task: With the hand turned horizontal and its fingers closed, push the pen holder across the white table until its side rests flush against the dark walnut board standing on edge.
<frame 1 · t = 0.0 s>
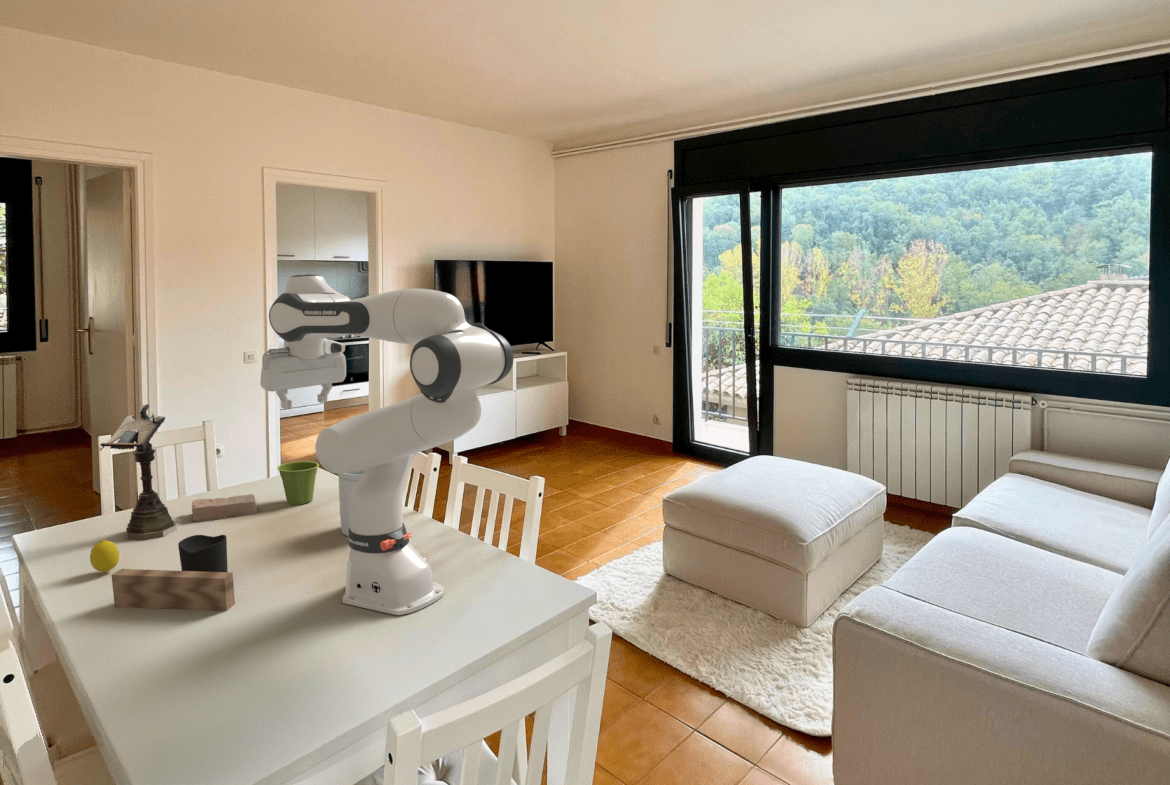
hand: (304, 404, 161), 39 cm above the table, tool pointing down, fingers open, 8 cm apart
plant pot: (300, 502, 213), on the table
lemon: (106, 573, 161), on the table
walnut board: (175, 605, 145), on the table
ornate lectern: (148, 536, 184), on the table
pen holder: (206, 583, 156), on the table
brick: (225, 515, 201), on the table
utensil holder: (368, 529, 190), on the table
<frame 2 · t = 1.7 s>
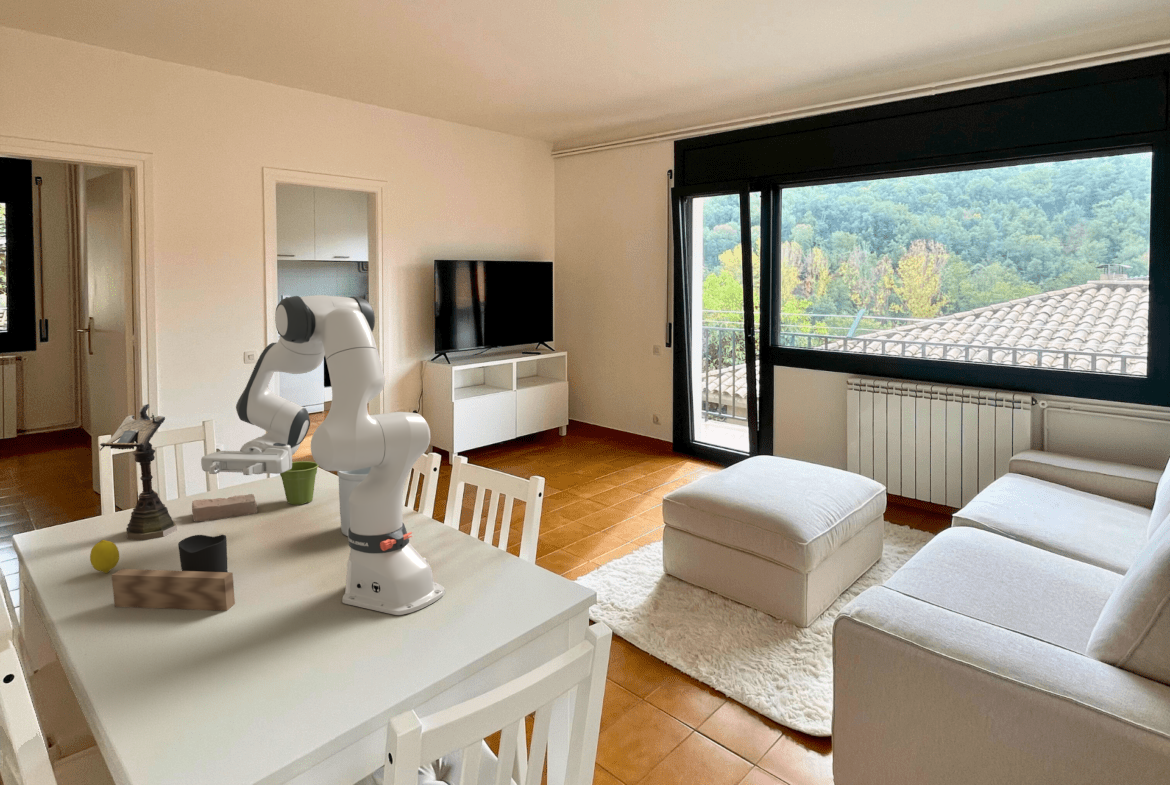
hand: (228, 471, 164), 22 cm above the table, tool horizontal, fingers open, 7 cm apart
nothing on the table moved.
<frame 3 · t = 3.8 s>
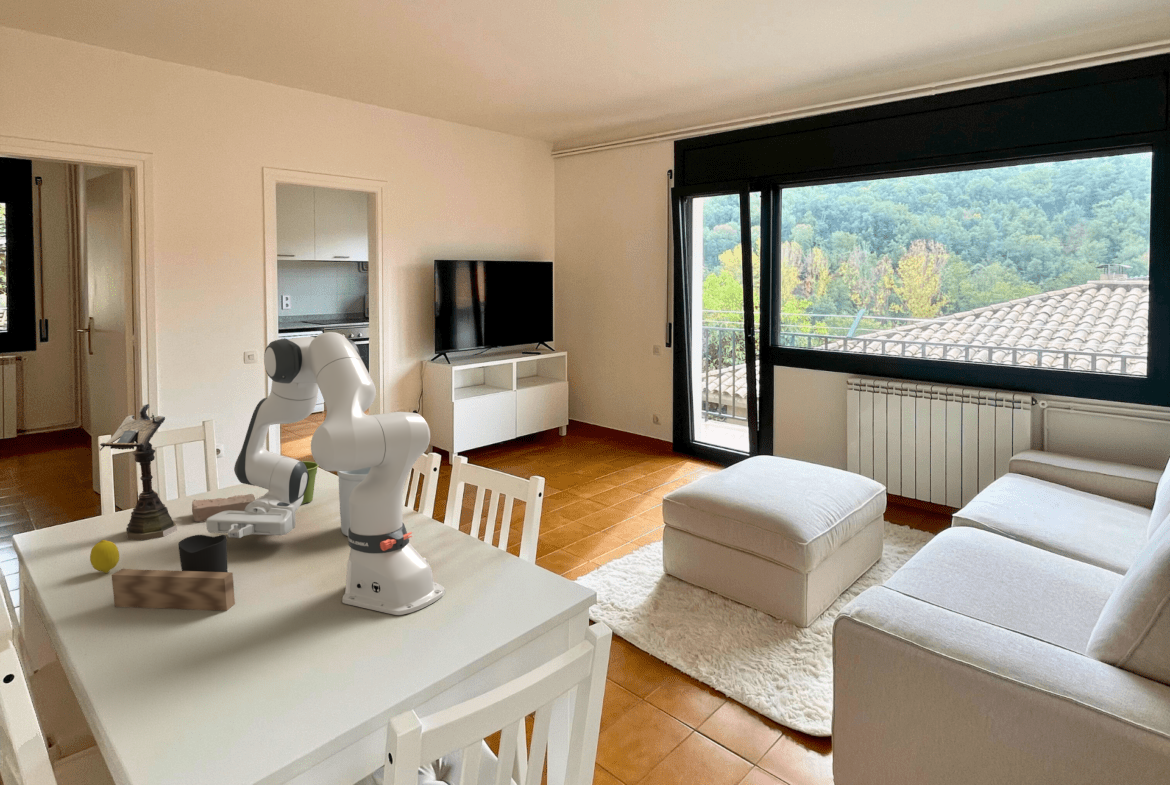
hand: (233, 534, 167), 7 cm above the table, tool horizontal, fingers closed
nothing on the table moved.
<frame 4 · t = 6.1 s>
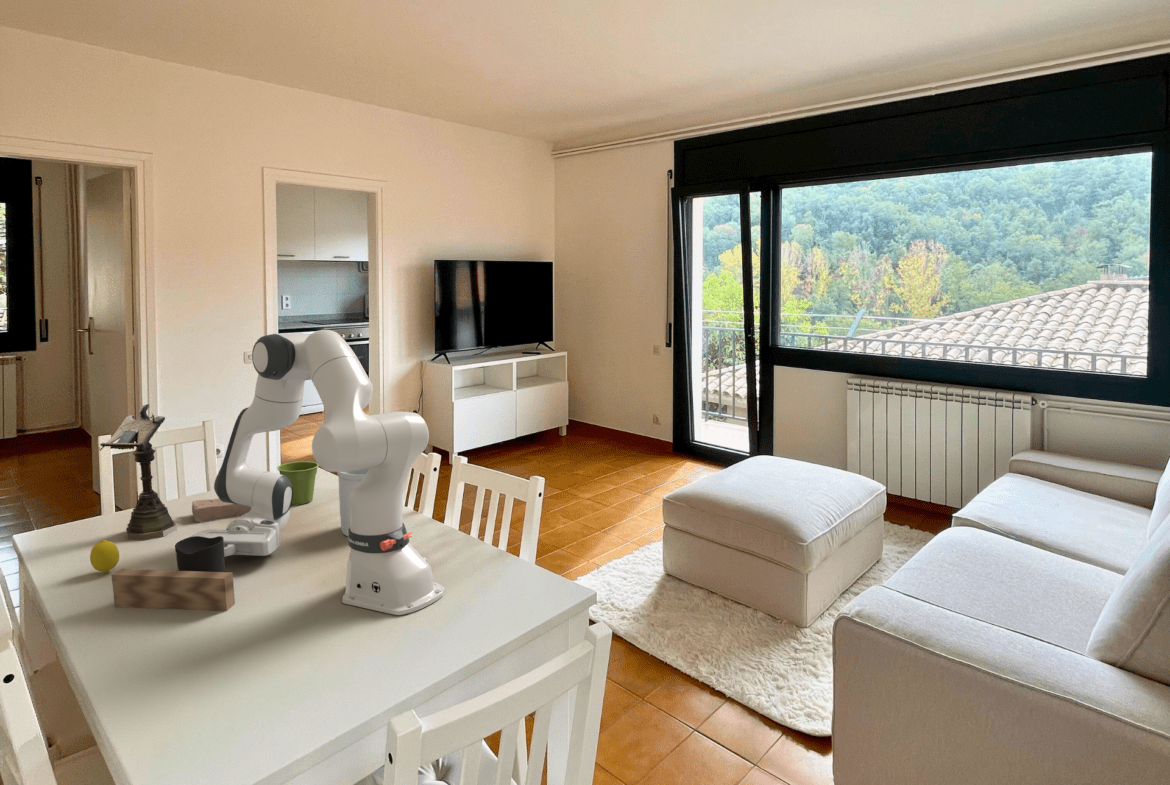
hand: (213, 555, 159), 5 cm above the table, tool horizontal, fingers closed, pressing on pen holder
pen holder: (203, 585, 155), on the table, touching gripper
everything else where it was.
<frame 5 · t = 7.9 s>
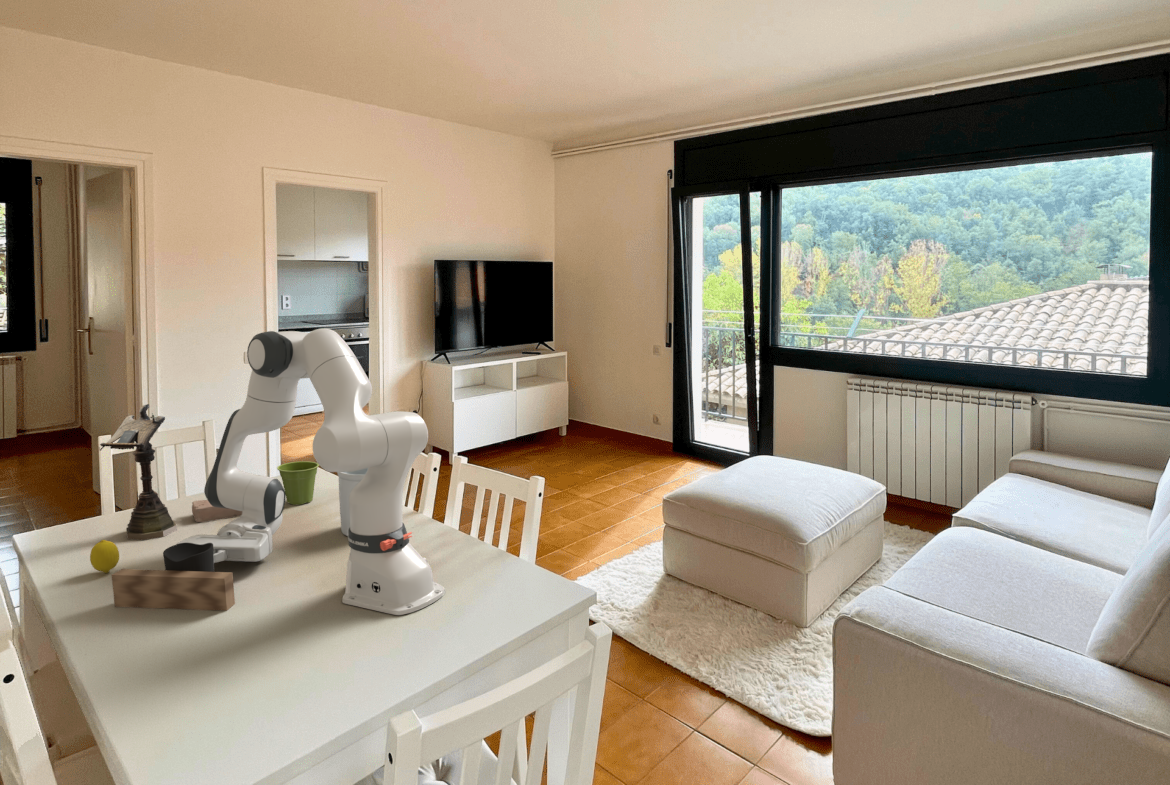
hand: (203, 561, 155), 5 cm above the table, tool horizontal, fingers closed
pen holder: (192, 593, 151), on the table
everything else where it was.
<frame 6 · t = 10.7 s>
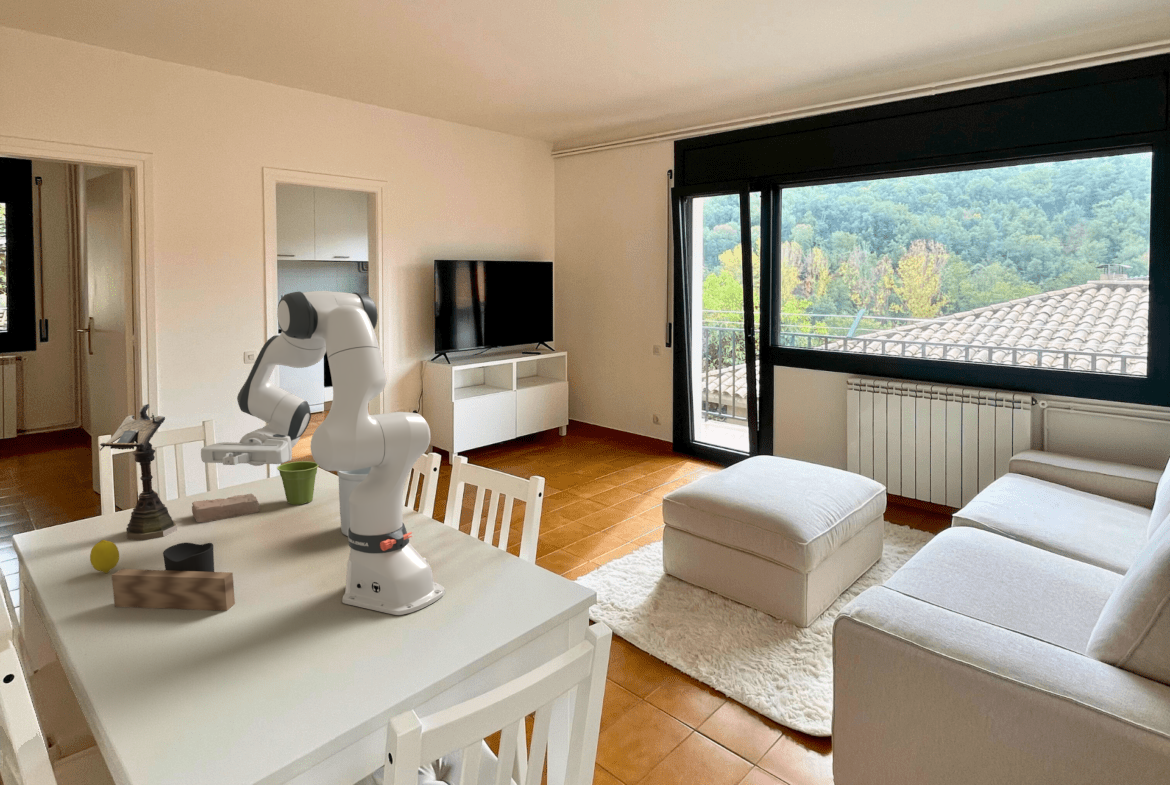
hand: (228, 461, 164), 25 cm above the table, tool horizontal, fingers closed
nothing on the table moved.
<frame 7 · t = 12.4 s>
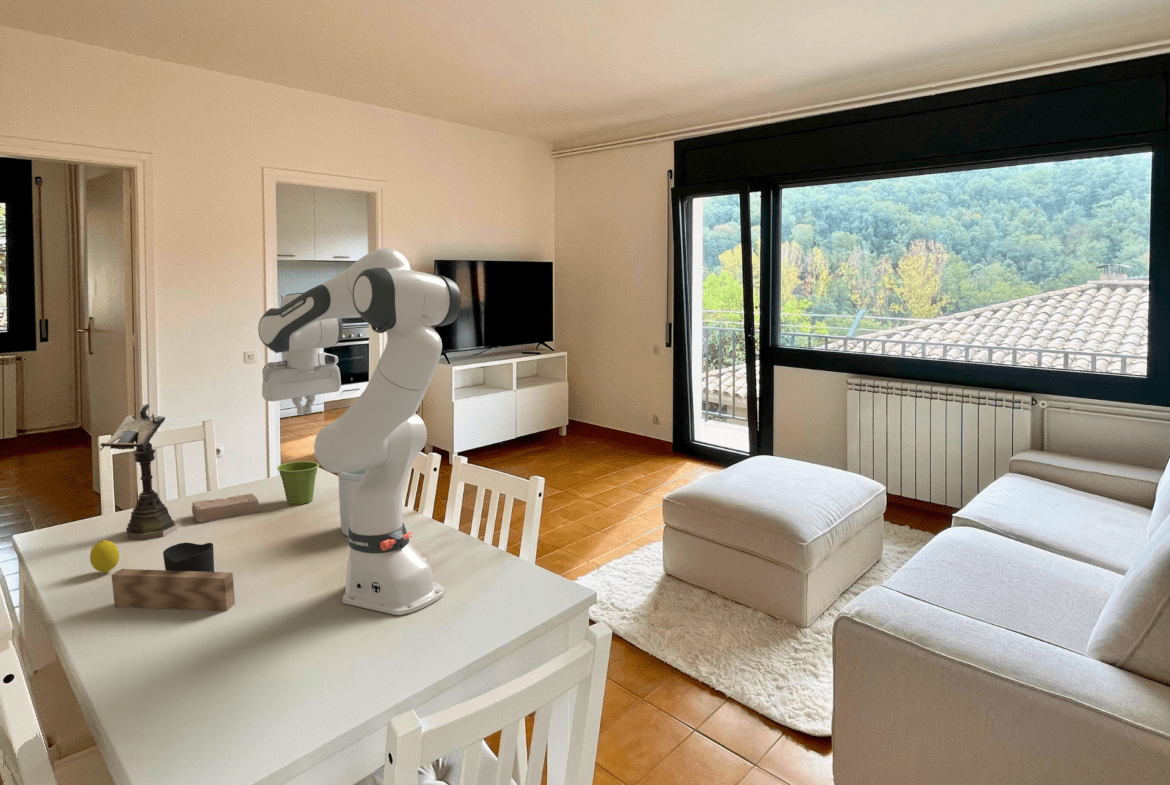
hand: (304, 413, 174), 34 cm above the table, tool pointing down, fingers closed
nothing on the table moved.
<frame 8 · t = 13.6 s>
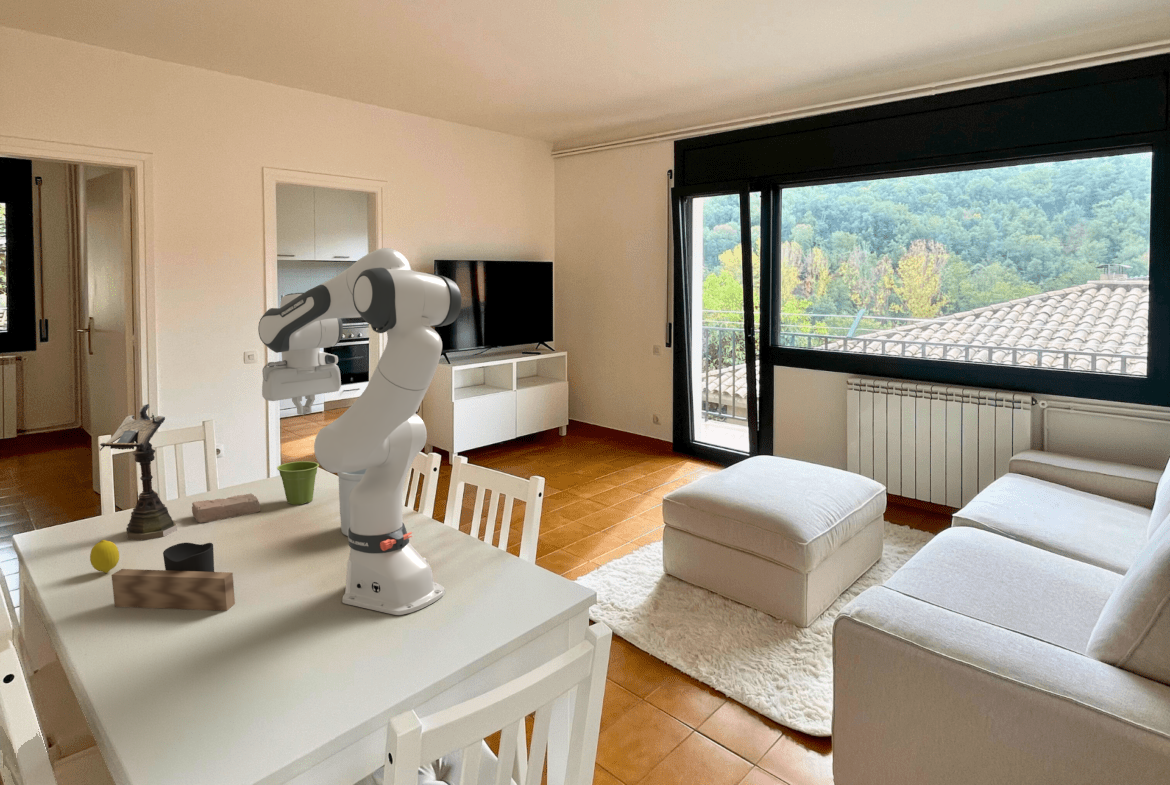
hand: (304, 413, 174), 34 cm above the table, tool pointing down, fingers closed
at the end: pen holder 0.4 cm from the target spot on the table beside the walnut board, on the table; pen holder 6.2 cm from the walnut board (horizontally); pen holder tilted 0° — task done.
